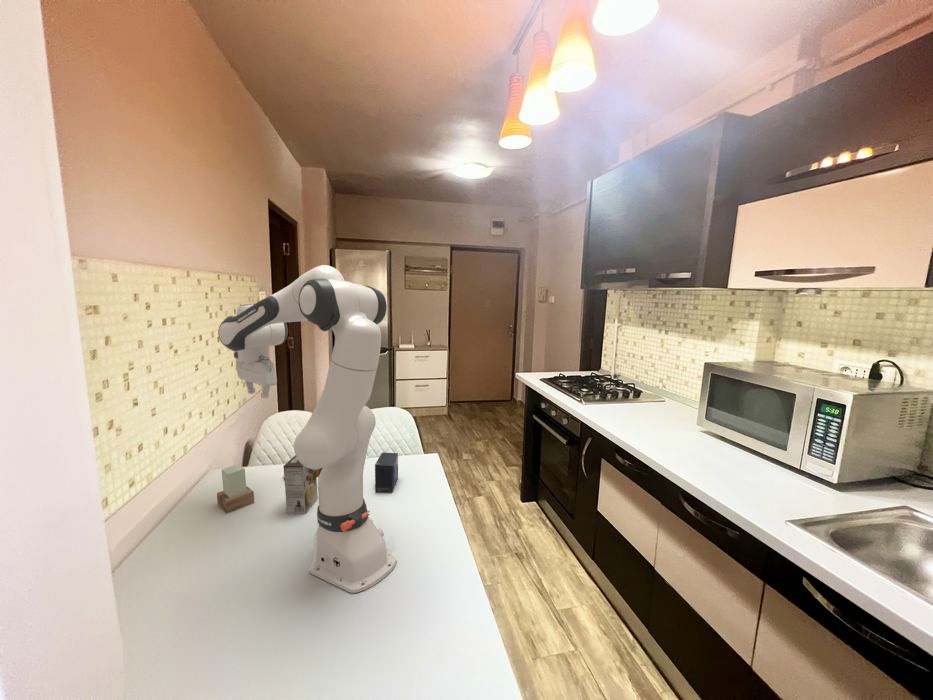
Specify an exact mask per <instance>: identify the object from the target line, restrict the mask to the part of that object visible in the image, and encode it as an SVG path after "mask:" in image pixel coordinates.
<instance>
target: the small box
mask: <svg viewBox="0 0 933 700" xmlns="http://www.w3.org/2000/svg"><path fill="white" fill-rule="evenodd" d="M374 477H375V478H374V479H375V480H374V493H377V494H378V493H382V494H383V493H384V494H392V493H393V492H394V490H395V487H396V485H397V482H398V480H399V453H398V452H384V451H383V452H381V454H380V455H379V457H378V458H377V460H376V462H375V464H374Z"/></svg>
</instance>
